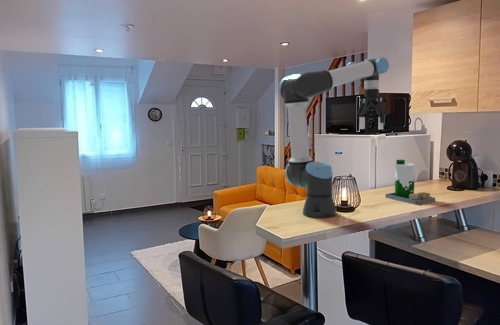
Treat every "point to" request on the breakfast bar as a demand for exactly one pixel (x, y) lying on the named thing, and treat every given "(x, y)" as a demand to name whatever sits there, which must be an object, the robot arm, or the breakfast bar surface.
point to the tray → (392, 196)
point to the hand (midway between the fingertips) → (371, 129)
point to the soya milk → (404, 178)
